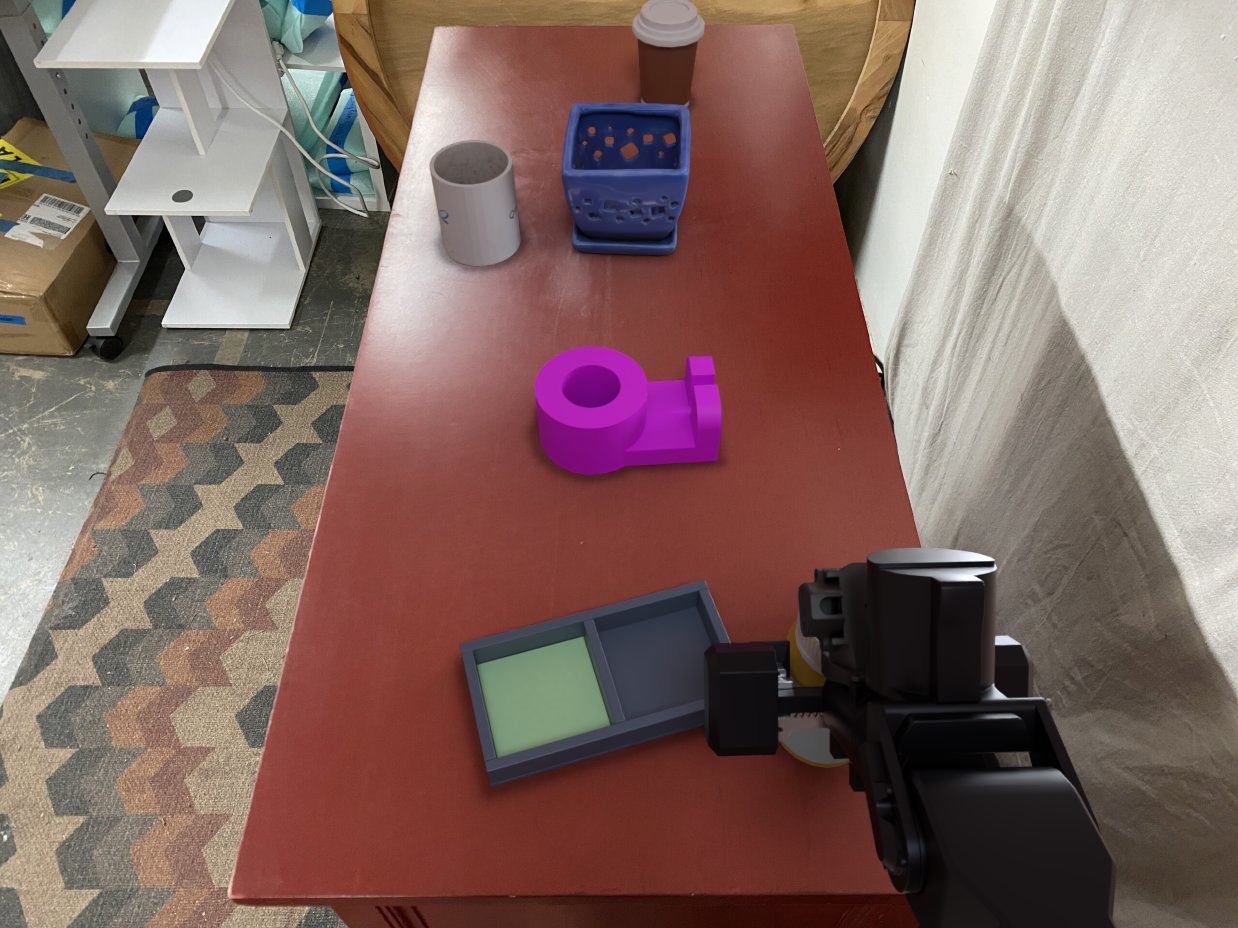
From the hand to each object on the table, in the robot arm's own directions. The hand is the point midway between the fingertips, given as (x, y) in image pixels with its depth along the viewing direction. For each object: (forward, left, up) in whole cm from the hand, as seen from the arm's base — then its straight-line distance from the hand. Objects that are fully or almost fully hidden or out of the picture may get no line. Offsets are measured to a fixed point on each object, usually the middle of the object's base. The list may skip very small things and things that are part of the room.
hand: (829, 652), depth 62 cm
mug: (+63, +12, -8) cm, 65 cm away
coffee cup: (+84, -17, -8) cm, 86 cm away
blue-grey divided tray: (+6, +14, -8) cm, 18 cm away
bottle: (-2, 0, -8) cm, 8 cm away
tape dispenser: (+30, +5, -8) cm, 31 cm away
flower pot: (+59, -4, -9) cm, 60 cm away
